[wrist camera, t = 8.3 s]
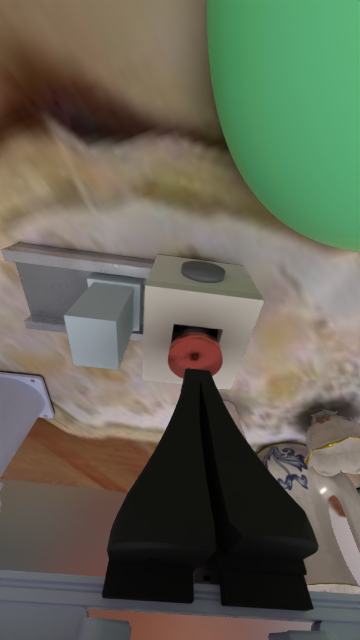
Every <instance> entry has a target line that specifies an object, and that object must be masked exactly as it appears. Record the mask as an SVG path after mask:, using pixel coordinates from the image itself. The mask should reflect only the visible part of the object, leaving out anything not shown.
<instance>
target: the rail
mask: <svg viewBox="0 0 360 640" xmlns="http://www.w3.org/2000/svg"><path fill="white" fill-rule="evenodd" d="M1 251H2V254H3V257H4V260H5V261H13V262H16V265H17V269H18V272H19V275H20V279H21V282H22V285H23V289H24V292H25V295H26V299H27V302H28V305H29V309H30V312H31V315H30V316H29V317H28V318H27V319H26V320H25V324H26V327H27V328H30V329H38V330H47V331H56V332H64V333H67V329H66V324H65V319H64V314H65V313H66V312H67V311H68V310H69V309H70V308H71V307H72V306H73V304H74V303H75V302H76V301H77V300H78V299H79V298H80V297H81V296H82V294H83V293H84V292H85V291H86V290H87V289H88V283H87V278H88V277H89V276H90V275H91V274H92V273H100V274H108V275H116V276H124V277H132V278H139V279H143V291H142V324H141V327H140V330H139V331H132V334H131V337H130V339H129V340H134V341H142V342H143V329H144V302H145V285H146V282H147V280H148V277H149V275H150V272H151V269H152V267H153V264H154V262H155V260H149V259H142V258H134V257H126V256H119V255H111V254H103V253H96V252H88V251H80V250H73V249H65V248H57V247H50V246H42V245H34V244H27V243H17V244H14V245H11V246H9V247H6V248H4V249H1Z"/></svg>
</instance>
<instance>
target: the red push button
mask: <svg viewBox="0 0 360 640" xmlns="http://www.w3.org/2000/svg"><path fill="white" fill-rule="evenodd" d="M222 363H223V358H222V352H221V348H220V345H219V343H218V342H217V341H216V340H215V339H214V338H213V337H211V336H210V335H209V328H205V327H196V326H188V325H180V326H179V337H178V338H176V339H175V340H174V341H173V342H172V343H171V345H170V348H169V353H168V365H169V368H170V370H171V371H172V372H173V373H174V374H175V375H177V376H178V377H180V378H182V379H183V378H184V373H185V369H187V368H190V369H199V370H209V371H210V372H211V374H212V376H214V375H215V374H216V373H217V372H218V371H219V370H220V369H221V367H222Z"/></svg>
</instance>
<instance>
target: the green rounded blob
mask: <svg viewBox="0 0 360 640" xmlns="http://www.w3.org/2000/svg"><path fill="white" fill-rule="evenodd" d="M207 42H208V56H209V66H210V75H211V82H212V88H213V94H214V99H215V104H216V109H217V113H218V117H219V121H220V125H221V128H222V131H223V135H224V138H225V140H226V143H227V146H228V148H229V151H230V153H231V156H232V158H233V160H234V162H235V164H236V166H237V168H238V170H239V172H240V174H241V176H242V177H243V179H244V181H245V182H246V184H247V185H248V187H249V188H250V190H251V191H252V192H253V194H254V195H255V196H256V197H257V199H258V200H259V201H260V202H261V203H262V204H263V205H264V206H265V208H266V209H267V210H268V211H269V212H271V213H272V214H273V215H274V216H275V217H276V218H277V219H279V220H280V221H281V222H282V223H284V224H285V225H287V226H288V227H290V228H291V229H293V230H294V231H296V232H298V233H300V234H301V235H303V236H305V237H307V238H310V239H312V240H314V241H317V242H319V243H322V244H325V245H328V246H332V247H335V248H340V249H344V250H349V251H355V252H360V0H207Z"/></svg>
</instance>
